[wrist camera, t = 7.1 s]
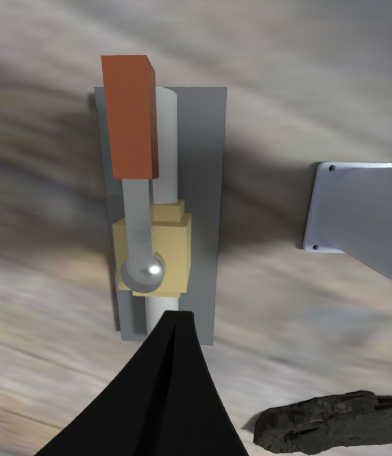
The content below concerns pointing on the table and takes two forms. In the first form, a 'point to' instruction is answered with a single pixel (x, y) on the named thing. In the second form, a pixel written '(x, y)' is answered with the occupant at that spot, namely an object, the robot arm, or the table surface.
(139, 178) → the valve lever
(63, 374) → the table surface
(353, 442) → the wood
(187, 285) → the valve stand
